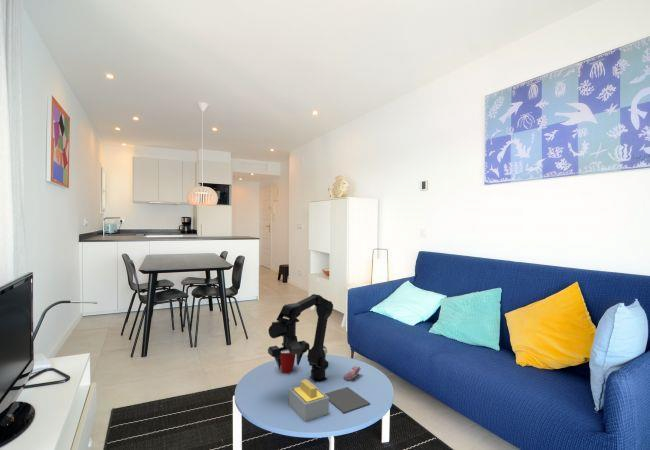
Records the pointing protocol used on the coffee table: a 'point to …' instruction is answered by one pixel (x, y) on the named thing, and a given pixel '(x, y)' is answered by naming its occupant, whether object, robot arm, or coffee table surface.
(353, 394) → the mat
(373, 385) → the coffee table surface
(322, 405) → the box
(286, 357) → the plastic cup
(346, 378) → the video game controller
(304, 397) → the lid
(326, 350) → the food container
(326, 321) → the robot arm
